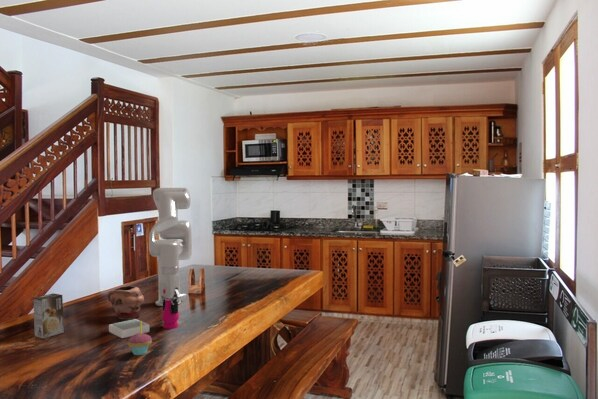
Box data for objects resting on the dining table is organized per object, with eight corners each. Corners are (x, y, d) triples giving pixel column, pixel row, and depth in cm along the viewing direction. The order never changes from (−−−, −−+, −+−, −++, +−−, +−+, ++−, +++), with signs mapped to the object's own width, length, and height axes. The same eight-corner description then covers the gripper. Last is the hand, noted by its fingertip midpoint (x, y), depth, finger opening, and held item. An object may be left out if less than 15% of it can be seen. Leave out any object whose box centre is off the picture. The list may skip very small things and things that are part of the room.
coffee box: (55, 330, 212) (54, 292, 211) (64, 332, 209) (63, 294, 208) (33, 336, 204) (32, 297, 204) (43, 338, 201) (42, 299, 200)
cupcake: (131, 349, 188) (130, 318, 188) (154, 348, 189) (153, 317, 189) (125, 357, 180) (124, 324, 179) (149, 357, 181) (149, 324, 180)
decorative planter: (98, 319, 229) (97, 288, 228) (115, 312, 241) (114, 283, 240) (136, 322, 223) (136, 291, 223) (151, 315, 235) (151, 285, 234)
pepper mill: (174, 329, 213) (174, 283, 212) (159, 328, 214) (158, 282, 213) (182, 324, 220) (181, 279, 219) (166, 323, 221) (166, 279, 220)
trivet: (135, 325, 218) (135, 318, 218) (149, 331, 210) (149, 324, 210) (109, 331, 210) (108, 324, 210) (122, 338, 202) (121, 330, 201)
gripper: (151, 269, 219) (152, 309, 220) (172, 274, 207) (173, 317, 208) (167, 266, 225) (167, 306, 225) (188, 272, 212) (188, 314, 213)
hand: (170, 311), depth 217 cm, fingers closed on pepper mill, 5 cm apart
